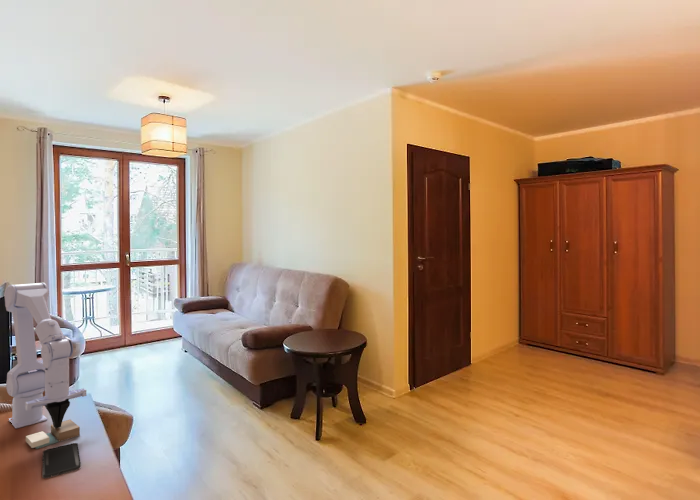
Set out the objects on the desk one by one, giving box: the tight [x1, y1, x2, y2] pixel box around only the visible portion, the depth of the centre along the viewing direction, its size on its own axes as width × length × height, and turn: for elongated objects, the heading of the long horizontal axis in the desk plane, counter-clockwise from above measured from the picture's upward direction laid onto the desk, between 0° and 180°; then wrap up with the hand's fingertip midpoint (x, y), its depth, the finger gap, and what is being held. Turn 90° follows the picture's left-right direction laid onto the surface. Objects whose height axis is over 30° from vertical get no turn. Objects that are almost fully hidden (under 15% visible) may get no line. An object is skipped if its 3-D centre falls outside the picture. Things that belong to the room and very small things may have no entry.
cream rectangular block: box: [25, 430, 49, 449], centre depth 114 cm, size 6×4×2 cm, turn 52°
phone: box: [41, 442, 82, 479], centre depth 105 cm, size 8×1×15 cm
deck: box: [50, 418, 81, 443], centre depth 119 cm, size 8×5×2 cm, turn 52°
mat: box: [34, 432, 59, 450], centre depth 115 cm, size 8×5×1 cm, turn 52°
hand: (57, 426), depth 118 cm, fingers closed
